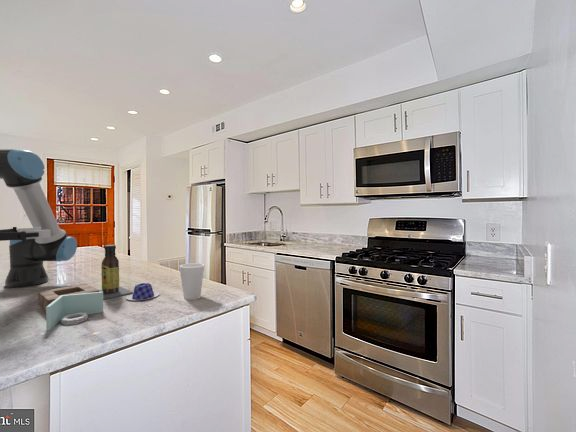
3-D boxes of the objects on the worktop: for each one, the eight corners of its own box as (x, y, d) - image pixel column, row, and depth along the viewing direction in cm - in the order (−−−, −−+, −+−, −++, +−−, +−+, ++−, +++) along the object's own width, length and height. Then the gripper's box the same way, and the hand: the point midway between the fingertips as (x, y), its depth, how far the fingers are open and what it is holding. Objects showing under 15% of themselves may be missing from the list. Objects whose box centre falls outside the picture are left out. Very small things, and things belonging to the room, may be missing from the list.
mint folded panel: (46, 332, 84) (46, 306, 84) (61, 317, 95) (60, 295, 95) (94, 326, 88) (94, 302, 88) (103, 312, 99) (103, 291, 99)
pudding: (133, 293, 121) (133, 281, 121) (163, 292, 123) (163, 280, 122) (120, 302, 109) (120, 289, 109) (153, 301, 111) (153, 288, 110)
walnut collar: (38, 305, 105) (38, 291, 105) (86, 295, 117) (86, 283, 117) (48, 314, 96) (48, 300, 96) (99, 303, 107) (99, 290, 107)
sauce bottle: (101, 291, 121) (100, 244, 120) (118, 289, 124) (117, 243, 124) (102, 295, 115) (101, 246, 115) (120, 292, 119) (119, 245, 119)
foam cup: (196, 301, 109) (196, 268, 109) (175, 300, 111) (174, 267, 111) (208, 294, 119) (208, 263, 118) (188, 293, 121) (188, 262, 120)
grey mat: (88, 293, 120) (88, 292, 120) (119, 287, 129) (119, 286, 129) (100, 300, 111) (100, 298, 111) (132, 293, 120) (132, 291, 120)
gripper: (-45, 245, 96) (37, 239, 113) (-40, 254, 81) (55, 245, 97) (-46, 223, 96) (36, 220, 112) (-41, 227, 80) (54, 223, 97)
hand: (45, 232), depth 105 cm, fingers open, 13 cm apart
